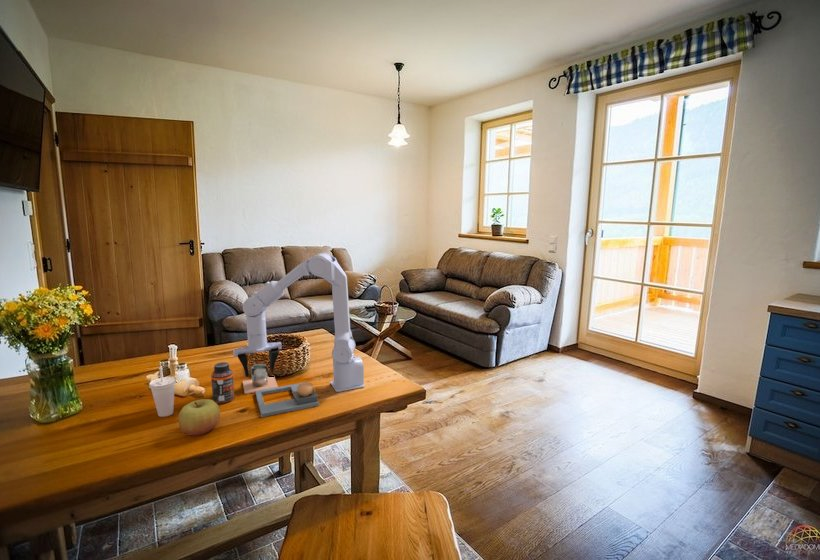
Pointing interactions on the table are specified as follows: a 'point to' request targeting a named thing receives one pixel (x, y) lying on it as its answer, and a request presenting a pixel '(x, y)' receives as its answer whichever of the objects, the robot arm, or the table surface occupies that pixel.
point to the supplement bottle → (222, 383)
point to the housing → (286, 405)
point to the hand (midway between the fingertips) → (259, 373)
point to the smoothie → (163, 394)
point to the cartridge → (259, 375)
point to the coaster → (250, 389)
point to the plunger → (305, 389)
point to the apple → (199, 417)
